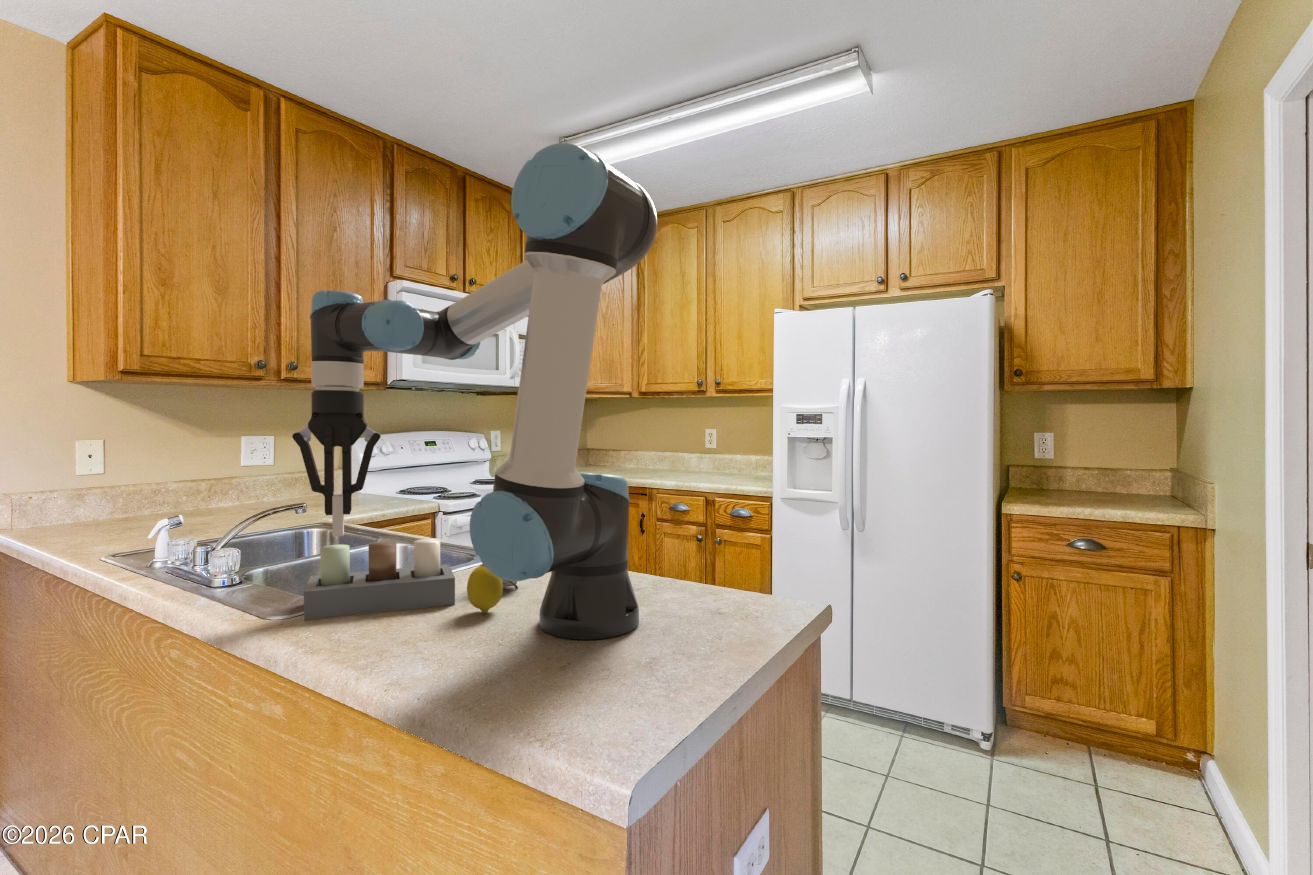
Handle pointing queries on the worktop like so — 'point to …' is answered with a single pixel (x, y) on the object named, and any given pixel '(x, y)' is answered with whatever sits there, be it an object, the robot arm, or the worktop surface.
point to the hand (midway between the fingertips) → (338, 534)
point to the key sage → (335, 565)
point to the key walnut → (382, 561)
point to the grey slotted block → (378, 594)
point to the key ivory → (426, 558)
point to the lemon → (484, 588)
